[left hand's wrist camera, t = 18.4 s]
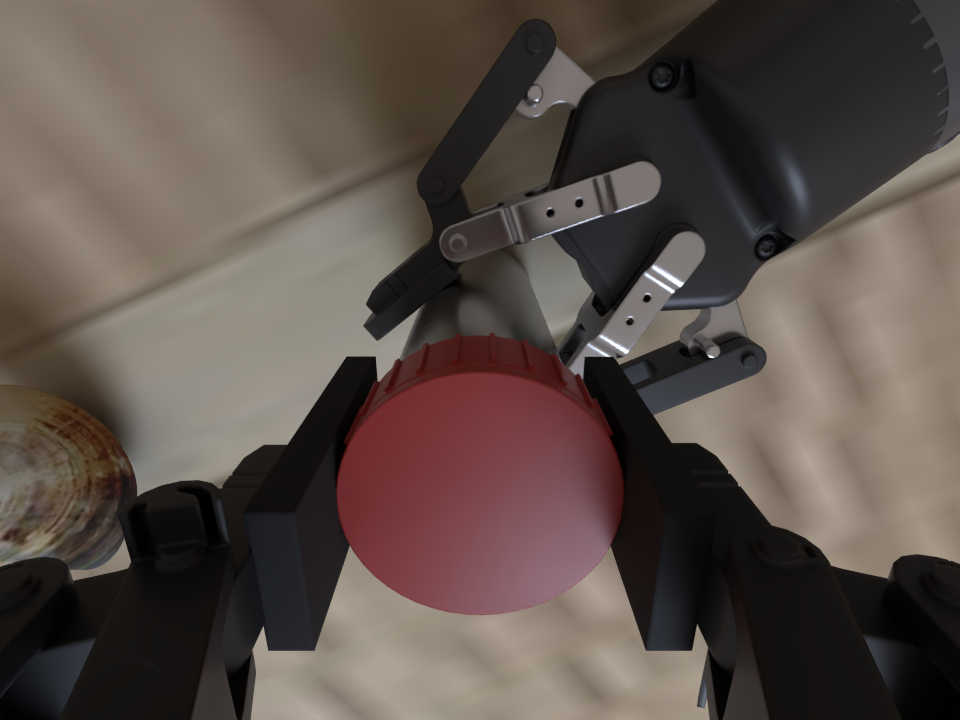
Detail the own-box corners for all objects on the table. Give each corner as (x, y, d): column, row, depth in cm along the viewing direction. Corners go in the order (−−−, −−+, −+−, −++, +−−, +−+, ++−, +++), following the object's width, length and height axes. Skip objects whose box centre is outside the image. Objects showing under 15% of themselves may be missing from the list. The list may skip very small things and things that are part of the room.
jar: (540, 253, 25) (626, 391, 10) (520, 351, 26) (570, 587, 12) (436, 236, 24) (371, 352, 10) (423, 336, 26) (352, 559, 12)
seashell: (-15, 392, 27) (-205, 483, 19) (67, 337, 26) (-100, 410, 18) (120, 526, 30) (0, 650, 22) (198, 481, 29) (100, 595, 21)
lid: (308, 390, 12) (273, 437, 10) (552, 287, 11) (567, 316, 9) (422, 578, 13) (412, 650, 11) (637, 502, 13) (666, 565, 11)
